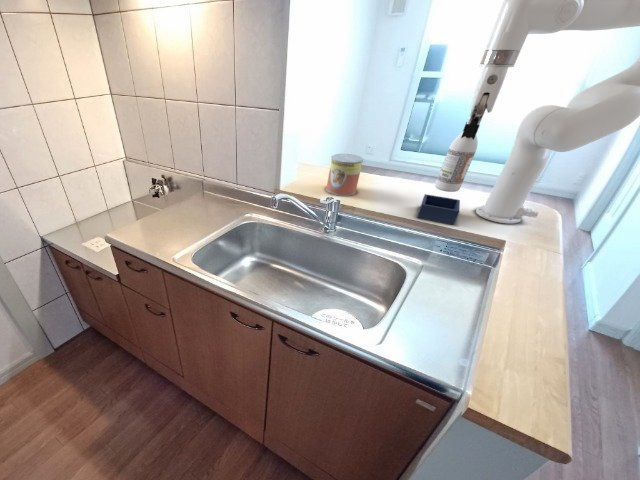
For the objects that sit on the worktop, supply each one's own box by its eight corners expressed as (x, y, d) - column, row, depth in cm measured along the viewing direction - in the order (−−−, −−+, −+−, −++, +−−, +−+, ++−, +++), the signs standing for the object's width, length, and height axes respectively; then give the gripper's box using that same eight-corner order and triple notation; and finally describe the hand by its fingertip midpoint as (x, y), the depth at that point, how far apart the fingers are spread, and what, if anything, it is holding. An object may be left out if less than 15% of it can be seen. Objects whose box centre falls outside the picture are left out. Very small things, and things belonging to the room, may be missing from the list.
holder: (454, 212, 109) (459, 199, 106) (453, 224, 102) (459, 211, 99) (420, 206, 113) (424, 194, 110) (417, 217, 106) (422, 204, 103)
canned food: (320, 190, 125) (325, 158, 117) (334, 183, 132) (340, 152, 124) (347, 198, 119) (354, 164, 112) (360, 190, 126) (368, 157, 118)
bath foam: (454, 194, 98) (485, 119, 86) (431, 188, 102) (457, 116, 90) (462, 188, 102) (493, 116, 89) (439, 183, 106) (466, 113, 93)
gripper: (520, 61, 74) (482, 146, 86) (513, 58, 86) (480, 135, 97) (482, 60, 77) (451, 143, 89) (480, 58, 88) (452, 132, 100)
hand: (467, 138), depth 93 cm, fingers closed on bath foam, 2 cm apart
